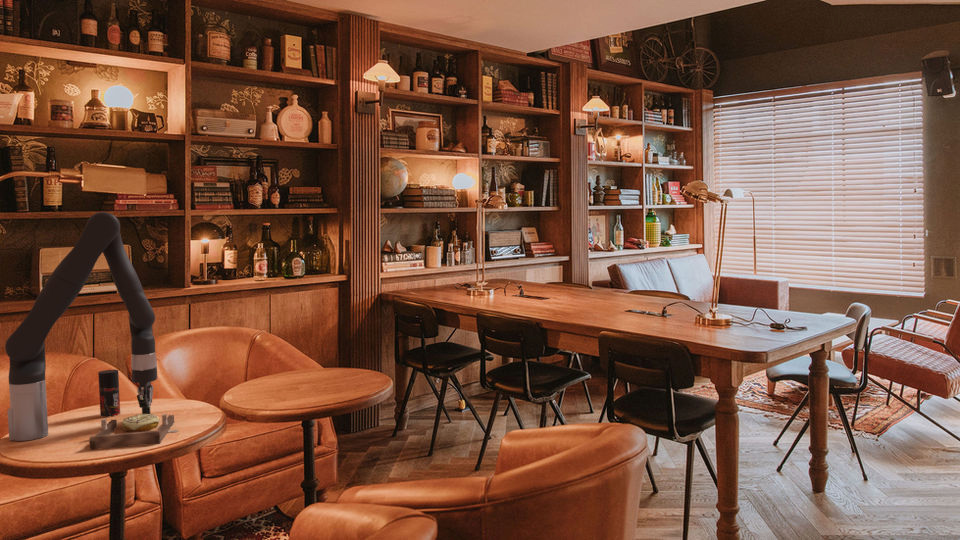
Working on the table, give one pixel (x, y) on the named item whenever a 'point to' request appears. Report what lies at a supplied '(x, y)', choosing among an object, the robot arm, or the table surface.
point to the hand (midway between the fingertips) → (146, 418)
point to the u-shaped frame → (129, 435)
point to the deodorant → (109, 392)
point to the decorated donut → (140, 422)
